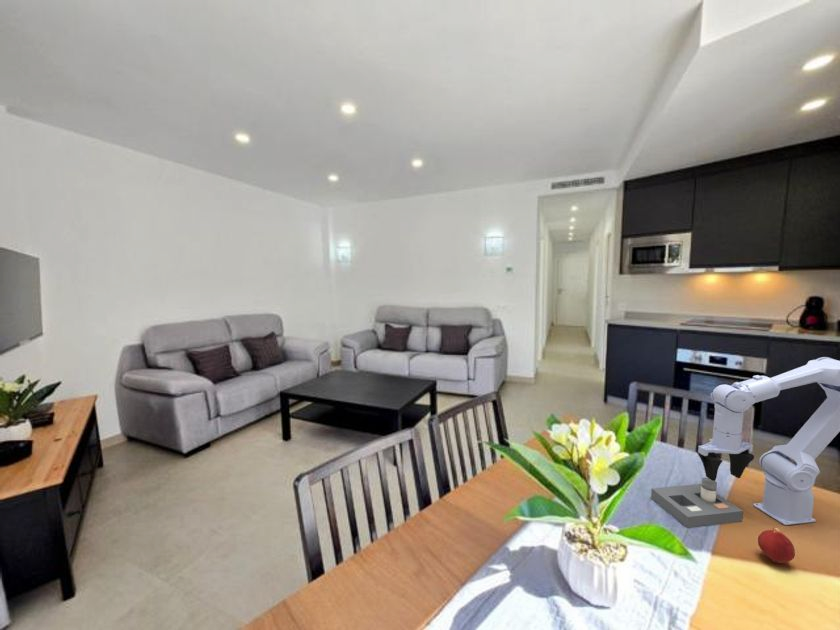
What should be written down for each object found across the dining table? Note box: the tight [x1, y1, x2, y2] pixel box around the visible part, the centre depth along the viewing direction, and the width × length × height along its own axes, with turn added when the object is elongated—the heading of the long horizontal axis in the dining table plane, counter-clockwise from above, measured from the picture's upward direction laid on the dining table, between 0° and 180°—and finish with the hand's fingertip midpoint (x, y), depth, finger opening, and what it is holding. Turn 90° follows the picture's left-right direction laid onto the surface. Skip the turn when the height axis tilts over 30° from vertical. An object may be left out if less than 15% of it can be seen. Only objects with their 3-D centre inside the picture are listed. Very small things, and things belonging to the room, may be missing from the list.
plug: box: [700, 477, 718, 504], centre depth 96 cm, size 3×3×8 cm
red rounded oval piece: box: [757, 527, 796, 564], centre depth 78 cm, size 6×6×8 cm
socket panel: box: [650, 483, 744, 529], centre depth 96 cm, size 16×12×3 cm
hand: (723, 477), depth 95 cm, fingers open, 7 cm apart
